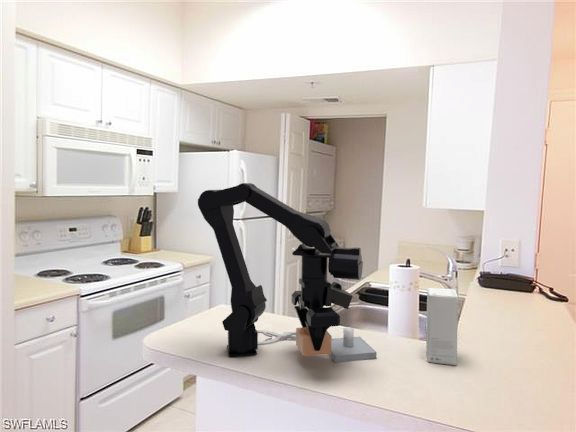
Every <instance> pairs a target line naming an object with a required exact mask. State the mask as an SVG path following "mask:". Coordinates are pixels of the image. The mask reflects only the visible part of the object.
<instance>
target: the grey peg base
mask: <svg viewBox="0 0 576 432" xmlns="http://www.w3.org/2000/svg"><path fill="white" fill-rule="evenodd" d="M354 331H355V330H354V328H352V327H344V328H343V337H338V338H337V337H335V338H332V340H331V354H328V355H329V356H330V358H331V360H333V361H334V363H340V362H351V361H361V360H362V361H363V360H375V359H377V354H378V353H377V351H376V350H375V349H374V348H373V347H372V346H371V345H370V344H368V343H367V342H366V340H364V339H363V338H362V337H361V336H354V335H355V334H354V333H355V332H354Z"/></svg>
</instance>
